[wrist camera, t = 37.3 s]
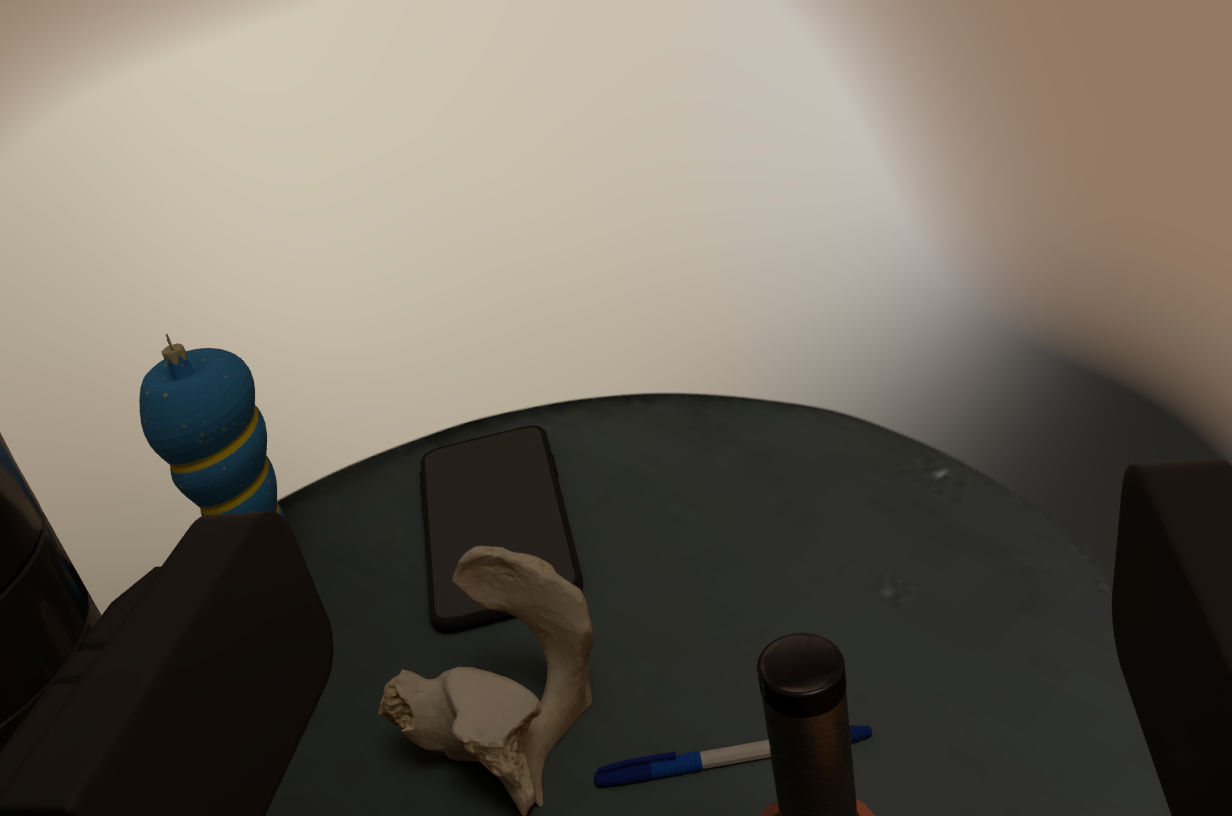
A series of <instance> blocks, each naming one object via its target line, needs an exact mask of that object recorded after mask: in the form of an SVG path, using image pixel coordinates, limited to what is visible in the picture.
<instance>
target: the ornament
mask: <svg viewBox="0 0 1232 816" xmlns="http://www.w3.org/2000/svg"><path fill="white" fill-rule="evenodd" d="M166 337H167V341H168V344H169V346H167V347H166V348H165V349H164V350H163V351H162V355H163V357H164V360H162V361H161V362H159V363H158V364H157V365H155V366H154V367H153V368H152V369H151V370H150V371H149V372H148V373H147V374H146V376H145V377H144V379H143V382H142V385H141V388H140V389H141V390H140V400H139V401H140V417H141V425H142V428H143V432H144V435H145V437H146V439H147V441H148V443H149V444H150V446H151V447H152V448H153V450H154V451H155V452H156V453H157V454H158V455H159V456H160V457H161V458H163V459H164V460H165V461H166V462H167V463H169V464H170V467H171V469H170V470H171V475H172V480H173V482H174V484H175V485H176V486H177V488H178V489H179V490H180V491H181V492H182V493H183V494H184V495H185V496H186V497H187V498H188V499H190V500H191V501H193V502H194V503H195V504H196V505H197V506H199V507H200V509H201V515H202V516H205V515H217V514H234V513H252V512H269V511H273V512H277V513H279V514H280V515H282V516H283V517H284V518H285V516H284V513H283V511H282V509H281V507H280V506H279V504H278V503H277V483H276V476H275V472H274V469H273V466H272V464H271V462H270V460H269V458H268V457H267V456H266V450H267V431H266V426H265V421H264V418H263V416H262V414H261V412H260V411H259V409H258V408H257V406H256V405H255V387H254V380H253V377H252V374H251V371H250V369H249V367H248V366H247V365H246V364H245V362H244V361H243V360H242V359H241V358H239V357H238V356H237V355H235V354H233V353H231V352H228V351H225V350H222V349H214V348H201V349H194V350H190V351H185V349H184V347H183V345H181V344H174V345H172V344H170V343H171V341H170V339H169V337H168V335H167V334H166Z"/></svg>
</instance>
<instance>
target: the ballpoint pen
mask: <svg viewBox="0 0 1232 816" xmlns="http://www.w3.org/2000/svg"><path fill="white" fill-rule="evenodd" d="M849 727H850V738H851V743H852V742H855V741H858V740H861V739H863V738H866V737H869V736H872V731H871V728H870V726H849ZM769 757H771V753H770V747H769V740H765V741H759V742H754V743H748V744H742V745H737V746H731V747H725V748H720V749H714V750H708V751H703V752H697V751H694V753H692V752H689V753H688V754H686V753H684V754H682V755H681V754H679V755H677V756H676V753H675V752H670V753H664V754H658V755H652V756H646V757H640V758H634V759H629V760H624V761H621V762H617V763H613V764H610V765H606V766H603V767H600V768H598V771H597V772H596V773H595V776H594V779H595V783H596V784H597V785H598V786H599V787H605V786H618V785H626V784H631V783H637V782H643V781H648V780H653V778H656V779H659V777H661V778H664V777H665V776H666V777H669V776H670V775H671V776H674V775H676V774H677V775H679V774H685V773H687V774H688V773H690V772H693V773H694V772H695V771H698V772H699V771H700V770H703V769H706V768H712V767H718V766H723V765H729V764H735V763H740V762H746V761H752V760H757V759H763V758H769Z"/></svg>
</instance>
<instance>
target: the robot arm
mask: <svg viewBox="0 0 1232 816" xmlns="http://www.w3.org/2000/svg"><path fill="white" fill-rule="evenodd" d="M1112 620H1113V630H1114V638H1115V644H1116V649H1117V654H1118V658H1119V662H1120V666H1121V669H1122V672H1123V675H1124V678H1125V681H1126V684H1127V687H1128V690H1129V692H1130V695H1131V698H1132V701H1133V704H1134V707H1135V710H1136V713H1137V716H1138V719H1139V722H1140V725H1141V728H1142V730H1143V733H1144V736H1145V739H1146V742H1147V745H1148V748H1149V751H1150V754H1151V757H1152V760H1153V763H1154V766H1155V768H1156V771H1157V774H1158V777H1159V780H1160V783H1161V786H1162V789H1163V792H1164V795H1165V798H1166V801H1167V804H1168V806H1169V809H1170V812H1171V815H1172V816H1232V467H1231V465H1230V464H1229V463H1228V462H1227V461H1225V460H1204V461H1187V462H1169V463H1152V464H1135V465H1129V466H1128V468H1127V469H1126V471H1125V474H1124V479H1123V485H1122V493H1121V504H1120V515H1119V526H1118V537H1117V548H1116V559H1115V570H1114V580H1113V591H1112ZM332 661H333V636H332V629H331V625H330V622H329V619H328V616H327V614H326V611H325V609H324V607H323V604H322V602H321V599H320V597H319V595H318V592H317V590H316V587H315V585H314V583H313V580H312V578H311V575H310V573H309V571H308V568H307V566H306V563H305V561H304V559H303V556H302V554H301V551H300V549H299V547H298V544H297V542H296V539H295V537H294V535H293V532H292V530H291V528H290V526H289V524H288V522H287V521H286V519H285V518H284V517H283V516H282V515H280V514H279V513H277V512H273V511H269V512H252V513H234V514H217V515H205V516H202V517H200V518H198V519H197V520H196V521H195V522H194V523H193V524H192V525H191V526H190V528H189V529H188V530H187V532H186V533H185V535H184V536H183V537H182V539H181V540H180V542H179V543H178V544H177V546H176V547H175V548H174V550H173V551H172V553H171V554H170V555H169V557H168V558H167V560H166V561H165V562H164V564H163V565H162V567H155V568H153V569H152V570H151V571H150V572H148V573H147V574H146V575H145V576H144V577H142V578H141V579H140V580H139V581H137V582H136V583H135V584H134V585H133V586H132V587H130V588H129V589H128V590H126V591H125V592H124V593H123V594H121V595H120V596H119V597H118V598H116V599H115V600H114V601H113V602H112V603H111V604H110V605H109V606H108V608H107V609H106V610H105V612H104V613H103V614H102V616H101V614H100V612H99V610H98V609H97V607H96V605H95V603H94V601H93V600H92V598H91V596H90V594H89V593H88V591H87V589H86V587H85V586H84V584H83V582H82V580H81V578H80V577H79V575H78V573H77V571H76V570H75V568H74V566H73V564H72V562H71V561H70V559H69V557H68V555H67V553H66V552H65V550H64V548H63V546H62V544H61V543H60V541H59V539H58V537H57V536H56V534H55V532H54V530H53V528H52V526H51V525H50V523H49V521H48V519H47V518H46V516H45V514H44V512H43V511H42V509H41V507H40V504H39V503H38V500H37V499H36V497H35V495H34V494H33V492H32V490H31V488H30V487H29V485H28V483H27V481H26V480H25V478H24V476H23V474H22V473H21V471H20V469H19V467H18V465H17V464H16V462H15V460H14V458H13V456H12V454H11V453H10V451H9V449H8V447H7V445H6V443H5V441H4V439H3V437H2V435H1V433H0V816H265V815H266V813H267V811H268V808H269V806H270V804H271V802H272V800H273V798H274V796H275V793H276V791H277V789H278V787H279V785H280V783H281V781H282V778H283V776H284V774H285V772H286V770H287V768H288V766H289V763H290V761H291V759H292V757H293V755H294V753H295V751H296V748H297V746H298V744H299V742H300V740H301V738H302V736H303V733H304V731H305V729H306V727H307V725H308V723H309V721H310V718H311V716H312V714H313V712H314V710H315V708H316V706H317V703H318V701H319V699H320V697H321V695H322V693H323V691H324V688H325V686H326V684H327V681H328V679H329V675H330V672H331V667H332Z"/></svg>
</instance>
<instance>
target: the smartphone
mask: <svg viewBox="0 0 1232 816" xmlns="http://www.w3.org/2000/svg"><path fill="white" fill-rule="evenodd" d="M420 479H421V482H422V483H421V495H422V511H423V514H424V527H425V543H426V558H427V574H428V590H429V606H430V618H431V621H432V623H433V624H434V625H435V627H436V628H438V629H441V630H445V631H453V630H460V629H464V628H468V627H472V626H476V625H480V624H483V623H487V622H491V621H495V620H499V619H503V618H507V617H511V616H513V615H511V614H509V613H507V612H504V611H497V610H492V609H489V608H485V607H481V606H479V605H477V604H476V603H474V602H472V601H471V600H469V598H468V597H467V596H466V595H465V594H464V593H463V592H462V590H461V589H460V588H459V587H458V586H457V585H456V584H455V583H454V582H453V581H452V579H453V575H454V572H455V570H456V568H457V565H458V561H459V560H460V559H461V558H462V556H463V555H464V554H465V553H466V552H468V551H469V550H470V549H472V548H473V547H475V546H488V547H503V548H505V549H507V550H509V551H511V552H515V553H524V554H528V555H532V556H535V557H538V558H540V559H542V560H544V561H546V562H547V563H549V564H550V565H552V567H553V568H554V570H555V571H556V573H557V574H559V575H560V576H561V577H563V578H564V579H565V580H567V581H568V582H570V583H571V584H573V585H575V586H576V587H578V588H579V589H581V590H582V587H583V578H582V573H581V569H580V565H579V561H578V557H577V553H576V549H575V545H574V541H573V537H572V533H571V529H570V525H569V521H568V517H567V513H566V509H565V505H564V501H563V497H562V493H561V489H560V485H559V481H558V472H557V468H556V464H555V460H554V457H553V454H552V453H551V449H550V445H549V441H548V437H547V434H546V432H545V430H544V429H542V428H541V427H539V426H525V427H520V428H516V429H512V430H508V431H504V432H500V433H496V434H492V435H487V436H483V437H479V438H475V439H471V440H467V441H463V442H459V443H455V444H451V445H446V446H442V447H439V448H436V449H433V450H431V451H429V452H427V453H426V454H425V455H424V456H423V457H422V460H421V472H420Z"/></svg>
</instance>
